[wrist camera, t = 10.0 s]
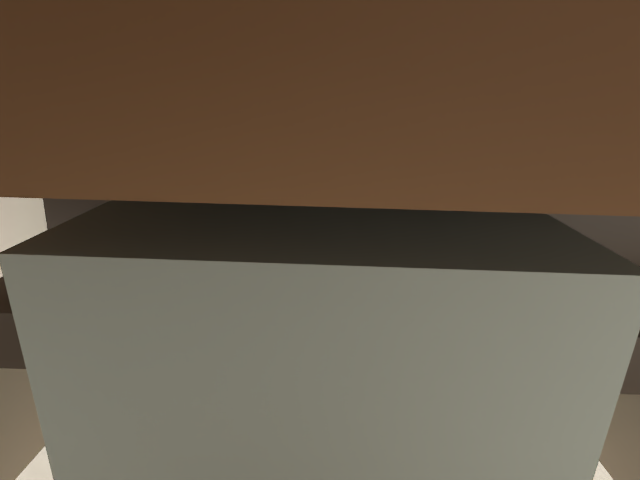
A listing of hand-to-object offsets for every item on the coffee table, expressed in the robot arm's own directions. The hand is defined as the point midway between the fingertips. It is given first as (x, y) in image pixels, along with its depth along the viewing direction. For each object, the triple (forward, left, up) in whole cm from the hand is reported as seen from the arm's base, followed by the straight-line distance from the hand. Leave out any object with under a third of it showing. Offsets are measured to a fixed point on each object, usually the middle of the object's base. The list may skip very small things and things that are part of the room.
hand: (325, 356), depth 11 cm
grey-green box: (0, 0, -3) cm, 3 cm away
